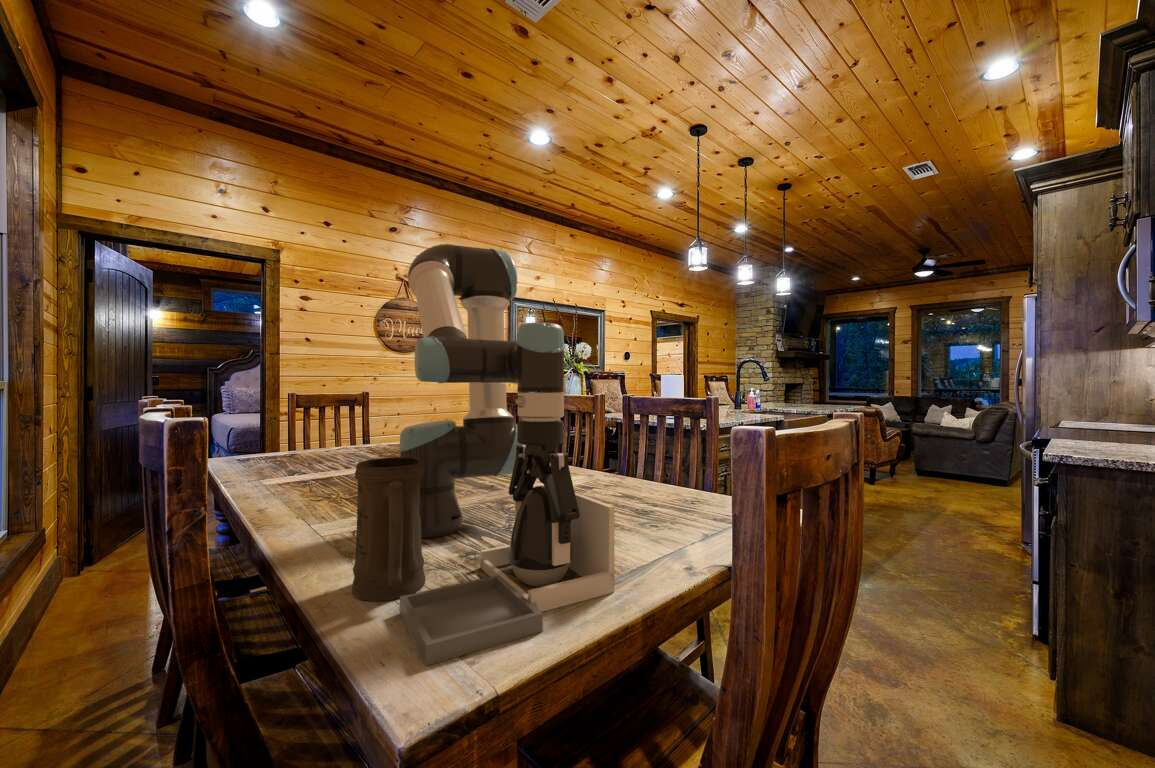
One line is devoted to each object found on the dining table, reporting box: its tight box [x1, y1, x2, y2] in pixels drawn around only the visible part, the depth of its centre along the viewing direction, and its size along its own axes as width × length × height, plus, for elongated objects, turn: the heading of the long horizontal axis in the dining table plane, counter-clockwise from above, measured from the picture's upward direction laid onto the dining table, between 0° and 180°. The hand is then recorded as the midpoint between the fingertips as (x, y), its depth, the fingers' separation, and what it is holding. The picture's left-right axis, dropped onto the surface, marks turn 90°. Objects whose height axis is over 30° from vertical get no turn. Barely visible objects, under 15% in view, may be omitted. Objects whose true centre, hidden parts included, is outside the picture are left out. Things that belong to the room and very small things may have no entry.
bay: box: [479, 491, 615, 613], centre depth 78 cm, size 20×14×13 cm
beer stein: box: [351, 456, 427, 602], centre depth 73 cm, size 15×11×20 cm
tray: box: [399, 575, 544, 667], centre depth 64 cm, size 15×15×2 cm
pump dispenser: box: [509, 485, 572, 588], centre depth 78 cm, size 10×10×15 cm
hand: (540, 550), depth 78 cm, fingers open, 13 cm apart
